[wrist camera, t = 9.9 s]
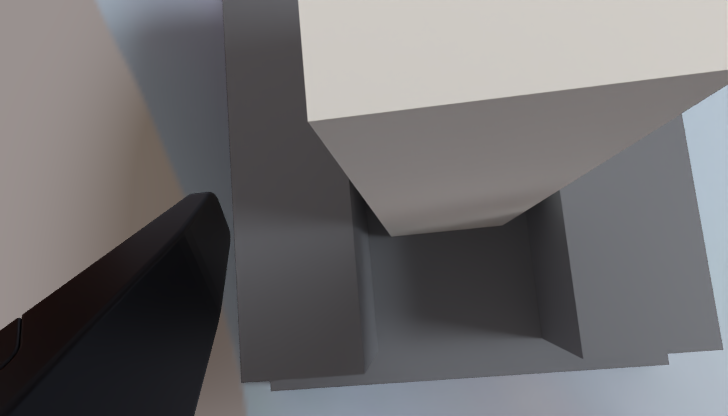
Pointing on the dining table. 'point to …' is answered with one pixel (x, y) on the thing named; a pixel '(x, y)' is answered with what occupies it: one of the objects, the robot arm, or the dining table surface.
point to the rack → (445, 253)
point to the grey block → (496, 95)
